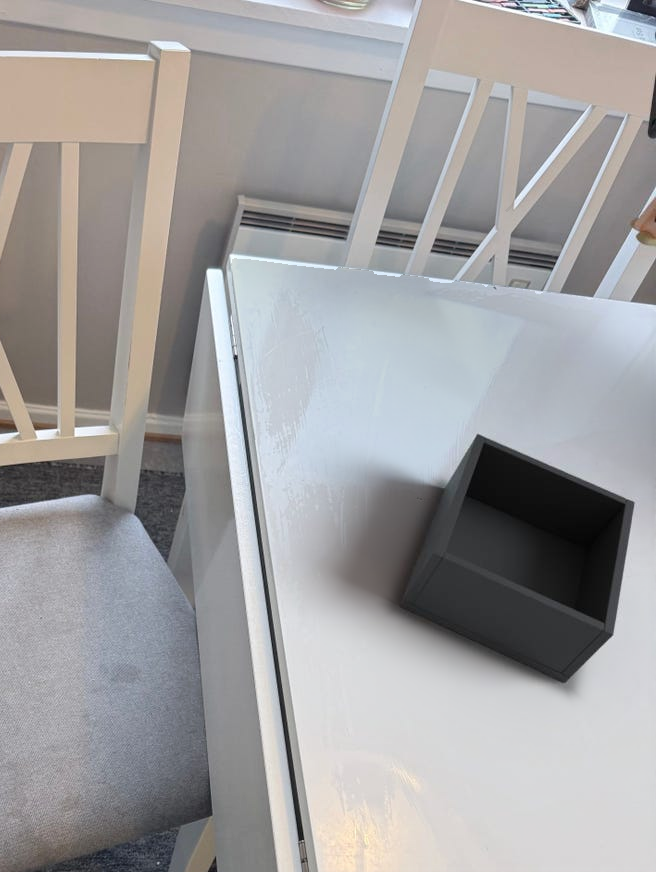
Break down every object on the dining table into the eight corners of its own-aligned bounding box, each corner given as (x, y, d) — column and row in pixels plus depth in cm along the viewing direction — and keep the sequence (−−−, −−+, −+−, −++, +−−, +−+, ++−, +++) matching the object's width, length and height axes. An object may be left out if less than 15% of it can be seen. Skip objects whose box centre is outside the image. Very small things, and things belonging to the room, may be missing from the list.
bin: (591, 553, 80) (635, 501, 75) (565, 683, 70) (613, 635, 65) (444, 488, 82) (477, 433, 76) (399, 606, 72) (433, 553, 67)
